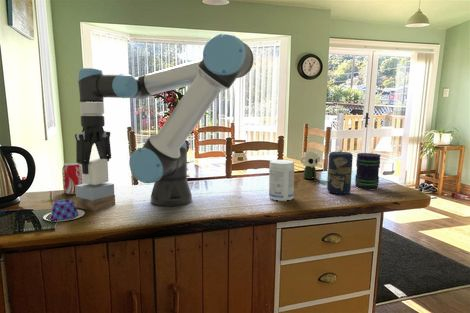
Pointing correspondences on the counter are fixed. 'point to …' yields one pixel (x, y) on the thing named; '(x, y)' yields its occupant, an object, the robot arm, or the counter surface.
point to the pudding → (64, 211)
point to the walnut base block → (95, 203)
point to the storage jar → (367, 170)
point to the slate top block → (94, 191)
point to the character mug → (310, 164)
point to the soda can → (71, 177)
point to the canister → (339, 172)
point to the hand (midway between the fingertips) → (95, 181)
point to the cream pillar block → (98, 171)
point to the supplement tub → (281, 180)
